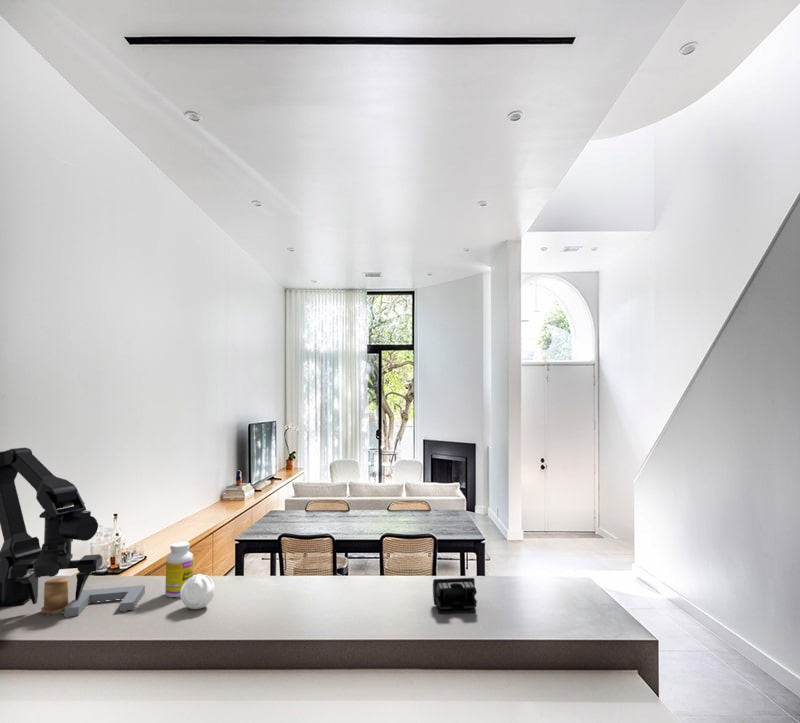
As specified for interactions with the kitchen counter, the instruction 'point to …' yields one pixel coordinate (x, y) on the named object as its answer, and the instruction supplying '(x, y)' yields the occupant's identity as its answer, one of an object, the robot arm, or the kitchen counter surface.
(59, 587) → the wooden drawer knob
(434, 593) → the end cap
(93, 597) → the notched board
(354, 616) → the kitchen counter surface
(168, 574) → the supplement bottle
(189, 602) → the white rounded piece
